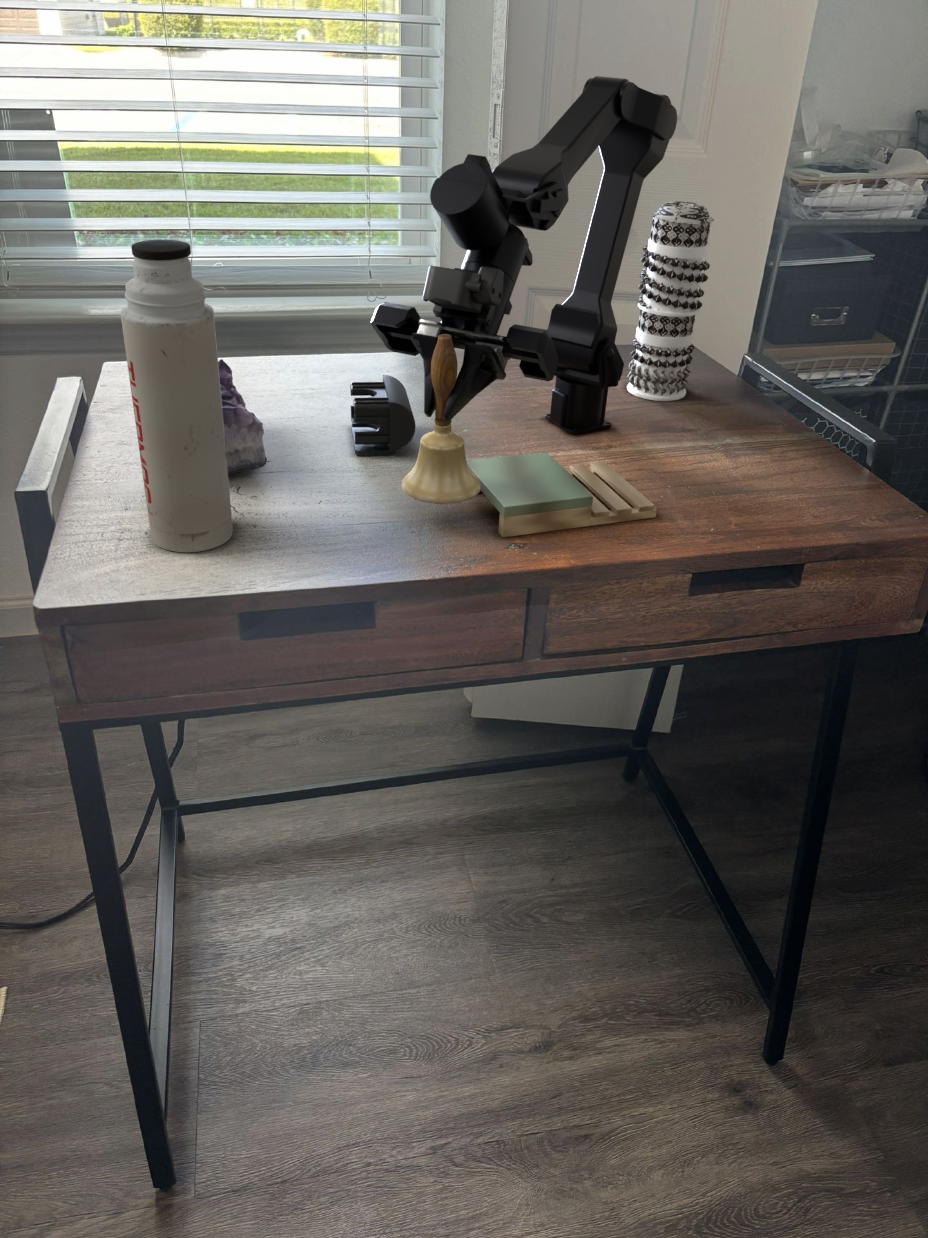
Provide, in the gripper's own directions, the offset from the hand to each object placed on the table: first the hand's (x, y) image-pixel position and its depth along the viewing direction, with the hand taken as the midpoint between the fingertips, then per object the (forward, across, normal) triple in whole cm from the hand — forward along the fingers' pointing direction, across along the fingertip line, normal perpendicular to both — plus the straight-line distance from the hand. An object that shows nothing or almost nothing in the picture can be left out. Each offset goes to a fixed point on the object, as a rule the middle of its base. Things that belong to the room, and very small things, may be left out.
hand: (436, 417), depth 99 cm
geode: (+6, -31, +10) cm, 33 cm away
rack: (0, +10, +17) cm, 20 cm away
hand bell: (+5, 0, +7) cm, 8 cm away
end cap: (-3, -15, +20) cm, 25 cm away
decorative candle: (-29, +9, +46) cm, 55 cm away
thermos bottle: (+18, -20, -2) cm, 27 cm away
